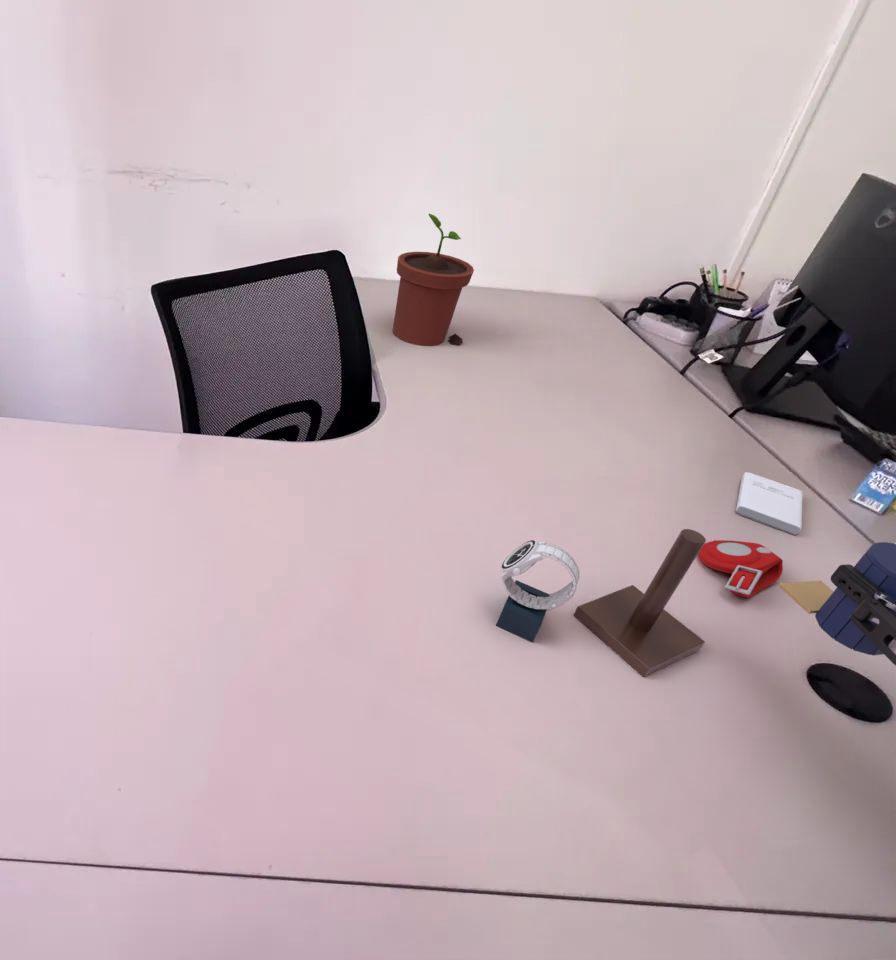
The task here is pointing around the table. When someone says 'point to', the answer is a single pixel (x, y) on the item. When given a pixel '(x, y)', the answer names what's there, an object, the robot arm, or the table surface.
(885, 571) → the cap
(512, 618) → the watch
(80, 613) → the table surface
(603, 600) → the stand
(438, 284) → the potted plant
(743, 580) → the tracker holder
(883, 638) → the robot arm
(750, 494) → the hard drive
